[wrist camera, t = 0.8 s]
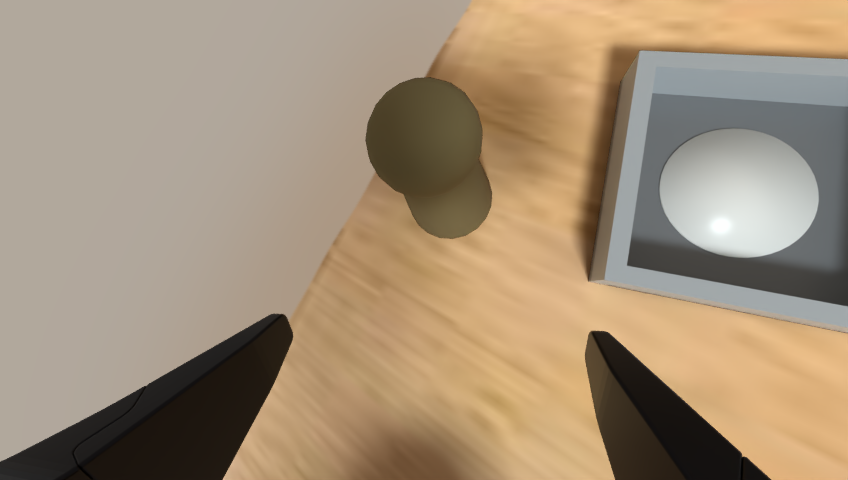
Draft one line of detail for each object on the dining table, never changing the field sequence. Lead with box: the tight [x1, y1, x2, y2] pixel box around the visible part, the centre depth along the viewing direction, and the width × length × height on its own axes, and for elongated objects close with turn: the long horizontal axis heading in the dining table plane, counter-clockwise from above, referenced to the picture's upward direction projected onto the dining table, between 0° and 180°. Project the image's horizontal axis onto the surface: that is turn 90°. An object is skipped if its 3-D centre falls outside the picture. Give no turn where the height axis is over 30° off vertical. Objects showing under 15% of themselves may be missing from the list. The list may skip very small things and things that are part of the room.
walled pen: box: [589, 51, 848, 333], centre depth 18 cm, size 14×14×3 cm
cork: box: [366, 77, 492, 239], centre depth 18 cm, size 6×6×11 cm
